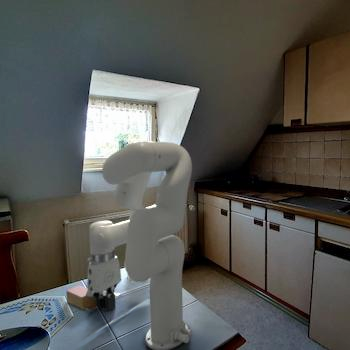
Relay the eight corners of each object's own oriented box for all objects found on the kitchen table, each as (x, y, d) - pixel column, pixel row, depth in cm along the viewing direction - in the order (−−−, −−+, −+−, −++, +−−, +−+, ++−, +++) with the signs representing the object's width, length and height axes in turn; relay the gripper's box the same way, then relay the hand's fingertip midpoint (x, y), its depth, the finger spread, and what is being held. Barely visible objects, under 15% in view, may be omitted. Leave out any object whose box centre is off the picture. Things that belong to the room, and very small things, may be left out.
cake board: (121, 296, 103) (120, 294, 103) (90, 312, 92) (90, 310, 92) (99, 288, 109) (99, 285, 109) (68, 302, 99) (68, 300, 99)
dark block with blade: (115, 307, 93) (115, 294, 93) (109, 311, 91) (108, 297, 91) (89, 296, 101) (88, 283, 100) (82, 299, 98) (82, 286, 98)
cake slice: (95, 302, 97) (94, 291, 96) (82, 309, 93) (81, 297, 92) (79, 296, 101) (78, 285, 101) (67, 301, 97) (66, 290, 97)
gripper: (86, 266, 83) (89, 321, 85) (129, 250, 98) (131, 296, 99) (73, 262, 87) (76, 314, 88) (116, 247, 101) (118, 292, 103)
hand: (105, 304), depth 94 cm, fingers closed on dark block with blade, 2 cm apart
